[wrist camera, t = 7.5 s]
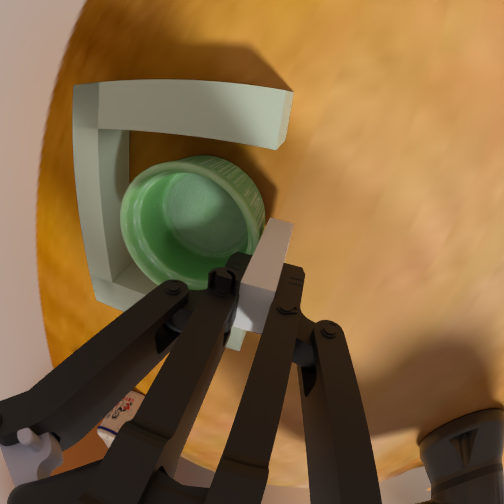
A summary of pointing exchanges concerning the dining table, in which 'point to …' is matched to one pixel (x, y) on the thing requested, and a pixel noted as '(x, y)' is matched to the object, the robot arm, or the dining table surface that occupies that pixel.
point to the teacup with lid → (119, 416)
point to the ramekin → (190, 218)
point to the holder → (117, 157)
